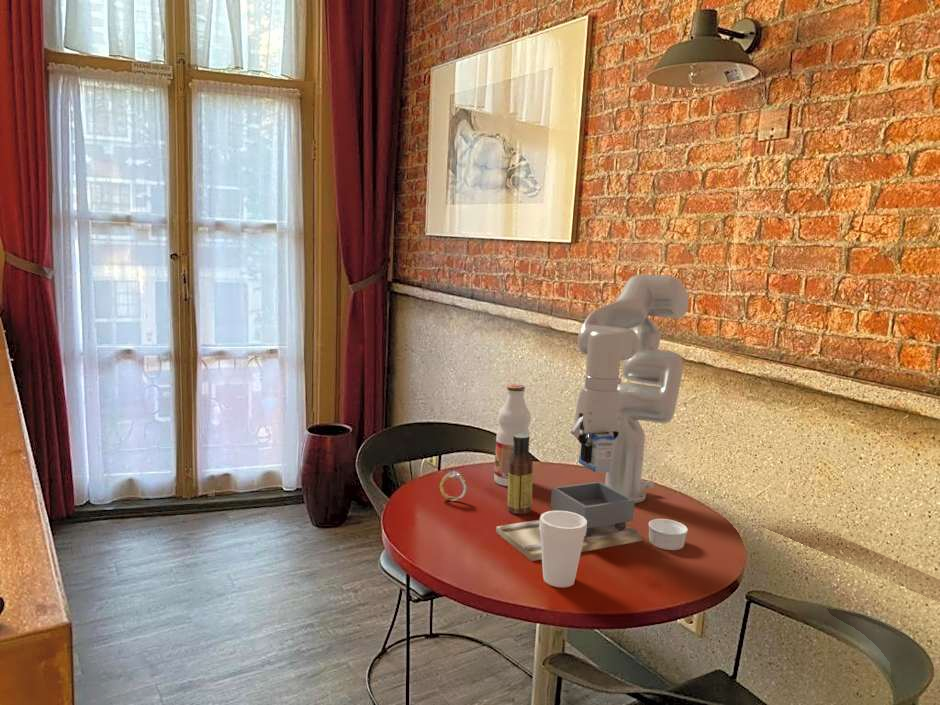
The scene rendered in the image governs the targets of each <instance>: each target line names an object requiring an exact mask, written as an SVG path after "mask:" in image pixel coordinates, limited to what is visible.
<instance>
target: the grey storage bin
mask: <svg viewBox="0 0 940 705" xmlns="http://www.w3.org/2000/svg"><path fill="white" fill-rule="evenodd" d="M635 504H636V503H635V500H633V499H631V498H630V497H628V496H626V495H624V494H622V493H620V492H618V491H616V490H614V489H613V488H611V487H609V486H607V485H605V483H603V482H602V481H593V482H587V483H585V482H584V483H578V484H577V483H576V484H569V485H562V486H555V487H551V497H550V509H552V510H553V511H556V510H557V511H568V512H573V513H577V514H579V515H581V516H583V517H584V518H585V519H586V520H587V529H586V535H587V536H591V535H593V533H594V527H598V526H604V525H610V524H615V528H616V529H618V530H620V531H622V530H624V529H625V527H626V526H627V523H628V522H632V521H634V512H635Z"/></svg>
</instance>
